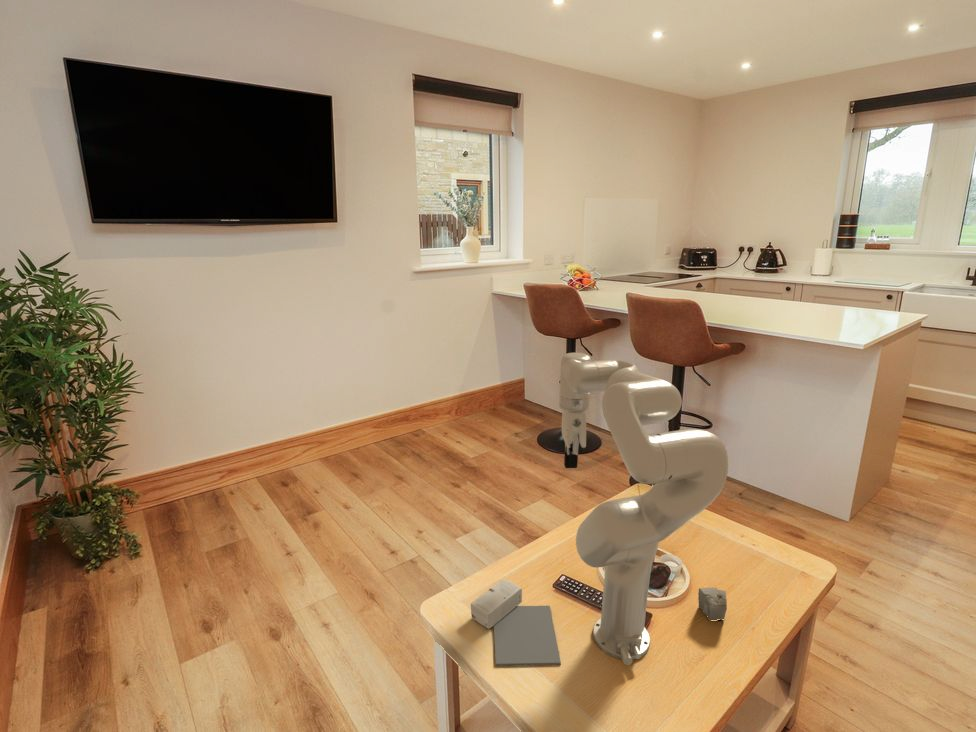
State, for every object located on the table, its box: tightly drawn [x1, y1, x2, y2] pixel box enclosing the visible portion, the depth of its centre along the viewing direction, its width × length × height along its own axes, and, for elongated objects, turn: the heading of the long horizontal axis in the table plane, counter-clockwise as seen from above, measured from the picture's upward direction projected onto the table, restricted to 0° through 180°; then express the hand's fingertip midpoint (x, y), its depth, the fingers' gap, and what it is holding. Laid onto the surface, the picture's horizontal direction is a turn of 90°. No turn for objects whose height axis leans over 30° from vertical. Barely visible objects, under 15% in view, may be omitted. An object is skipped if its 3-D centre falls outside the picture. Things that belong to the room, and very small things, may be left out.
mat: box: [493, 605, 562, 667], centre depth 120 cm, size 17×14×1 cm
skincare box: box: [470, 578, 523, 630], centre depth 127 cm, size 6×4×12 cm
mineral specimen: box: [697, 586, 728, 621], centre depth 125 cm, size 7×9×8 cm
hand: (570, 466), depth 138 cm, fingers closed
